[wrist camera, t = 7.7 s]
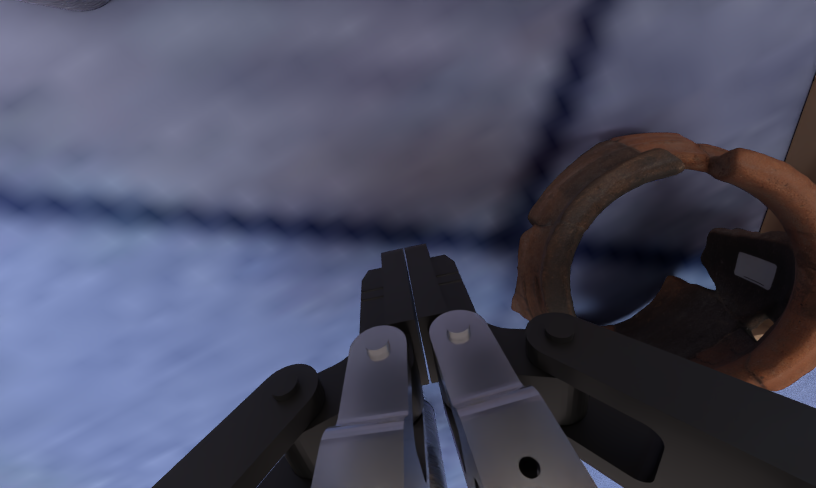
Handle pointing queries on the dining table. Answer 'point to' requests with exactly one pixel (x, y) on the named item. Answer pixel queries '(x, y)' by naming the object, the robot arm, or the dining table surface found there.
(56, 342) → the dining table surface
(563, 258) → the pottery mug
